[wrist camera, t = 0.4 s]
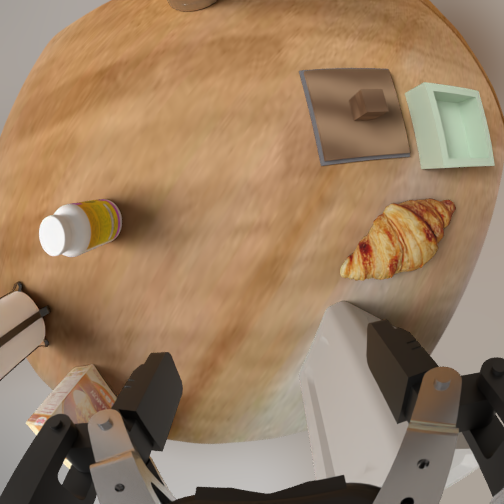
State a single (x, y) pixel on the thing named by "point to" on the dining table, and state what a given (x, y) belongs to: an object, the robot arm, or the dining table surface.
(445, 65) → the dining table surface
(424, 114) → the green box
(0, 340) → the coffee press
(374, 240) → the croissant
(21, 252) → the dining table surface
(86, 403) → the coffeecake box
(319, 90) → the lid
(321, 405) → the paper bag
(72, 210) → the supplement bottle
